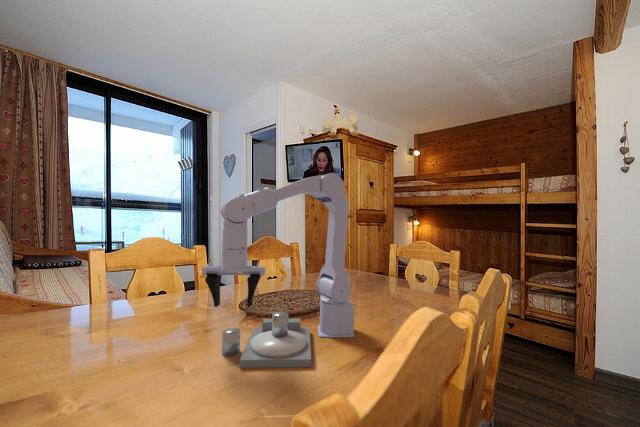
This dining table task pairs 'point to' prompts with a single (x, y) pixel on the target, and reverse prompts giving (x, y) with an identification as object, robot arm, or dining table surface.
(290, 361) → the scale
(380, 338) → the dining table surface
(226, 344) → the cylinder
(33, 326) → the dining table surface
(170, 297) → the dining table surface
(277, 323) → the cylinder
